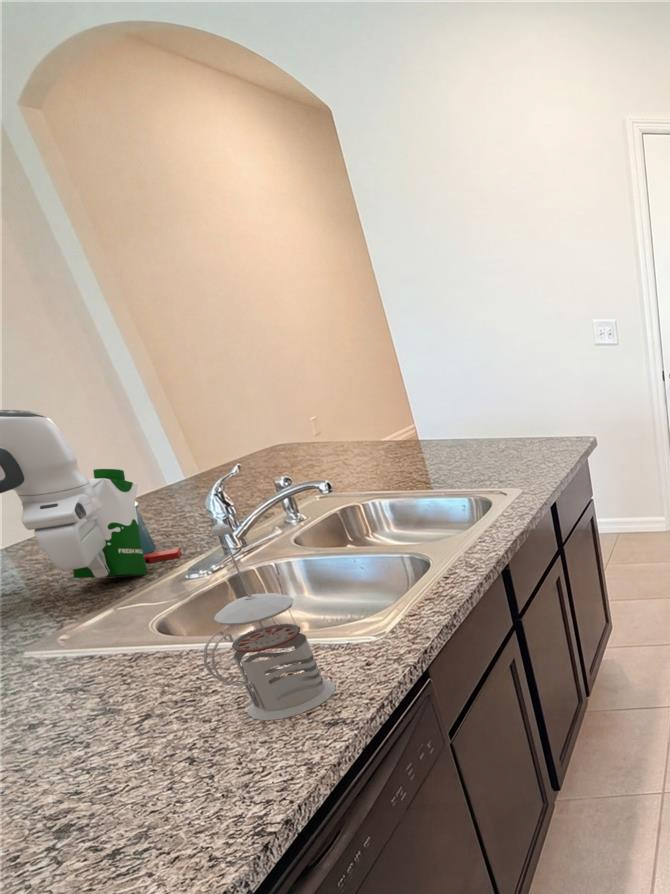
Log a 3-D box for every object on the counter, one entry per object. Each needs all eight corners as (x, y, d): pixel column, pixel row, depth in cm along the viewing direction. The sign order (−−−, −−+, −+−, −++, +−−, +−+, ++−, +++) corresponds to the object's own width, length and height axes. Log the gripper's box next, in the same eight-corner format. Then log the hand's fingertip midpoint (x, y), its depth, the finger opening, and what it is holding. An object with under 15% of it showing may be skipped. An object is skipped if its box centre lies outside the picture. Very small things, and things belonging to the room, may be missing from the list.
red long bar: (76, 575, 128) (73, 569, 128) (80, 570, 131) (77, 564, 130) (179, 557, 136) (176, 551, 136) (181, 553, 139) (178, 547, 138)
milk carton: (119, 574, 121) (102, 466, 120) (62, 578, 119) (44, 469, 118) (157, 573, 129) (141, 472, 128) (104, 577, 128) (88, 475, 127)
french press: (351, 687, 91) (287, 516, 80) (261, 735, 81) (174, 549, 70) (307, 673, 94) (240, 507, 83) (215, 717, 85) (126, 537, 74)
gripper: (57, 493, 120) (95, 561, 127) (16, 523, 105) (63, 599, 111) (103, 486, 123) (138, 553, 130) (70, 515, 108) (112, 590, 114)
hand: (103, 575), depth 120 cm, fingers closed
